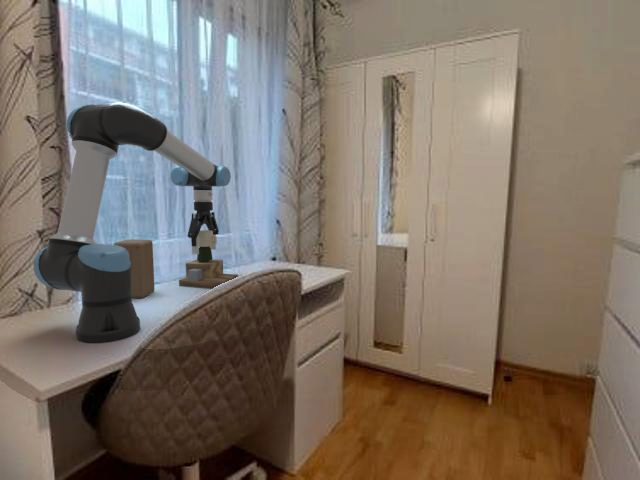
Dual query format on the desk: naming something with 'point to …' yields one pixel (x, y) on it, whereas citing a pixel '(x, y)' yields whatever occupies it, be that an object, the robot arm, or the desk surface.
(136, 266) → the wooden block
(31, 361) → the desk surface
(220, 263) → the walnut stand
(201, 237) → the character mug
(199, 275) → the grey cube
